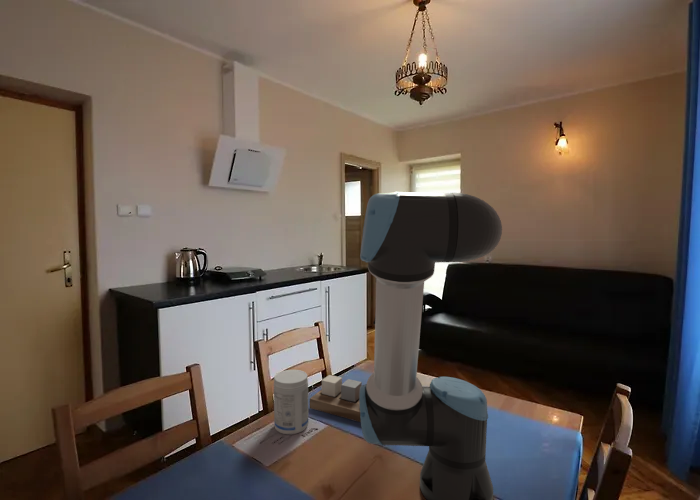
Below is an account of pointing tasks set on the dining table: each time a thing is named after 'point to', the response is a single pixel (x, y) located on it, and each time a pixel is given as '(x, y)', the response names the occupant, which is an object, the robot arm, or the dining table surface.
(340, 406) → the wooden board
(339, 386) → the beige cube
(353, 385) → the gray cube
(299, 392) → the supplement tub
